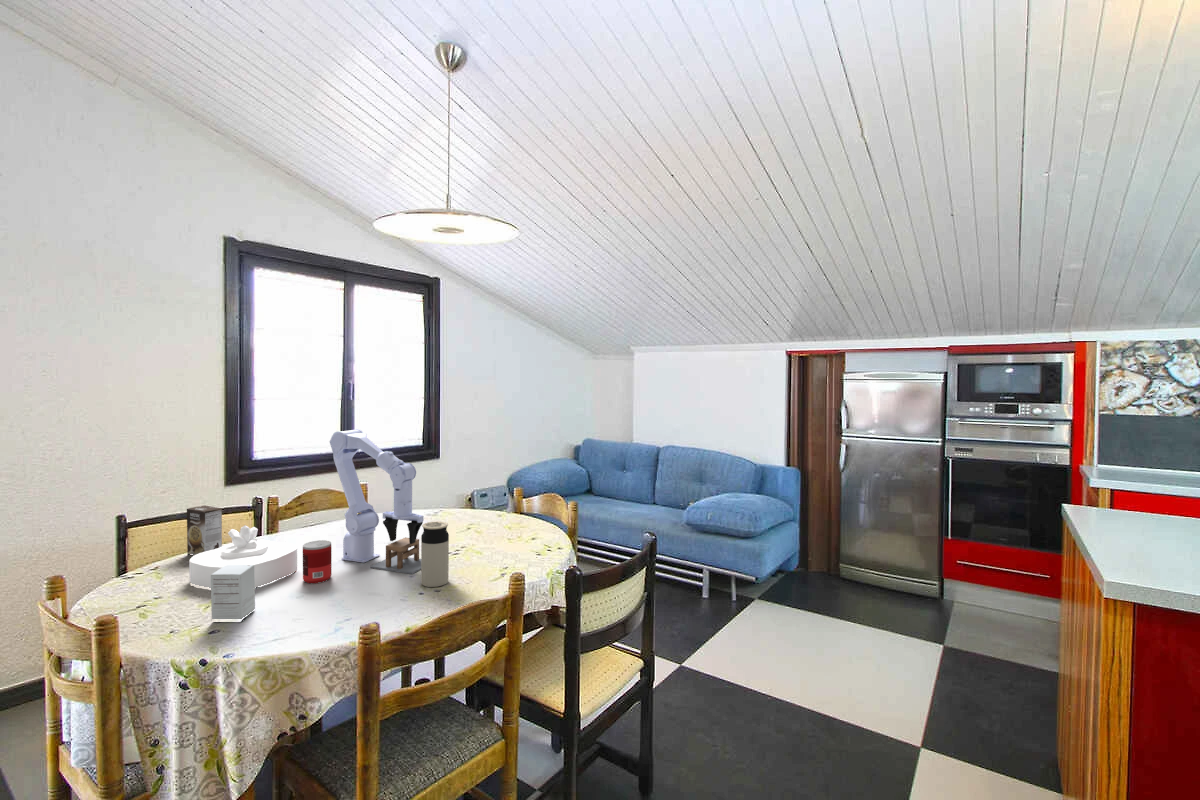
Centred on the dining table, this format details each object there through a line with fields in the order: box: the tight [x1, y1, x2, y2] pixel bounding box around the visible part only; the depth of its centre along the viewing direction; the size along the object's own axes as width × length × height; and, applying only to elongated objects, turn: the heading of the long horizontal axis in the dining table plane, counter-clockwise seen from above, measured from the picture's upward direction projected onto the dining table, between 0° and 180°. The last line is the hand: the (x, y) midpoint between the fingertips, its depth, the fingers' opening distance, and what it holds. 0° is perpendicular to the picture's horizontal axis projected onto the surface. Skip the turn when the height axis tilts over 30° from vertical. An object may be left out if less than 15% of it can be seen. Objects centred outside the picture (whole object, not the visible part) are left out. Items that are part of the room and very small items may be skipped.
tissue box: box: [188, 525, 298, 588], centre depth 180 cm, size 25×25×16 cm
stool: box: [385, 537, 420, 569], centre depth 192 cm, size 10×6×7 cm, turn 162°
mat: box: [370, 556, 421, 575], centre depth 192 cm, size 16×12×1 cm
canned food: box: [302, 539, 332, 584], centre depth 178 cm, size 8×8×11 cm
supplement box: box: [210, 565, 256, 620], centre depth 150 cm, size 7×7×13 cm
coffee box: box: [186, 504, 223, 555], centre depth 199 cm, size 9×6×16 cm
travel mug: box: [420, 520, 450, 588], centre depth 176 cm, size 8×8×18 cm
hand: (402, 541), depth 192 cm, fingers open, 7 cm apart
